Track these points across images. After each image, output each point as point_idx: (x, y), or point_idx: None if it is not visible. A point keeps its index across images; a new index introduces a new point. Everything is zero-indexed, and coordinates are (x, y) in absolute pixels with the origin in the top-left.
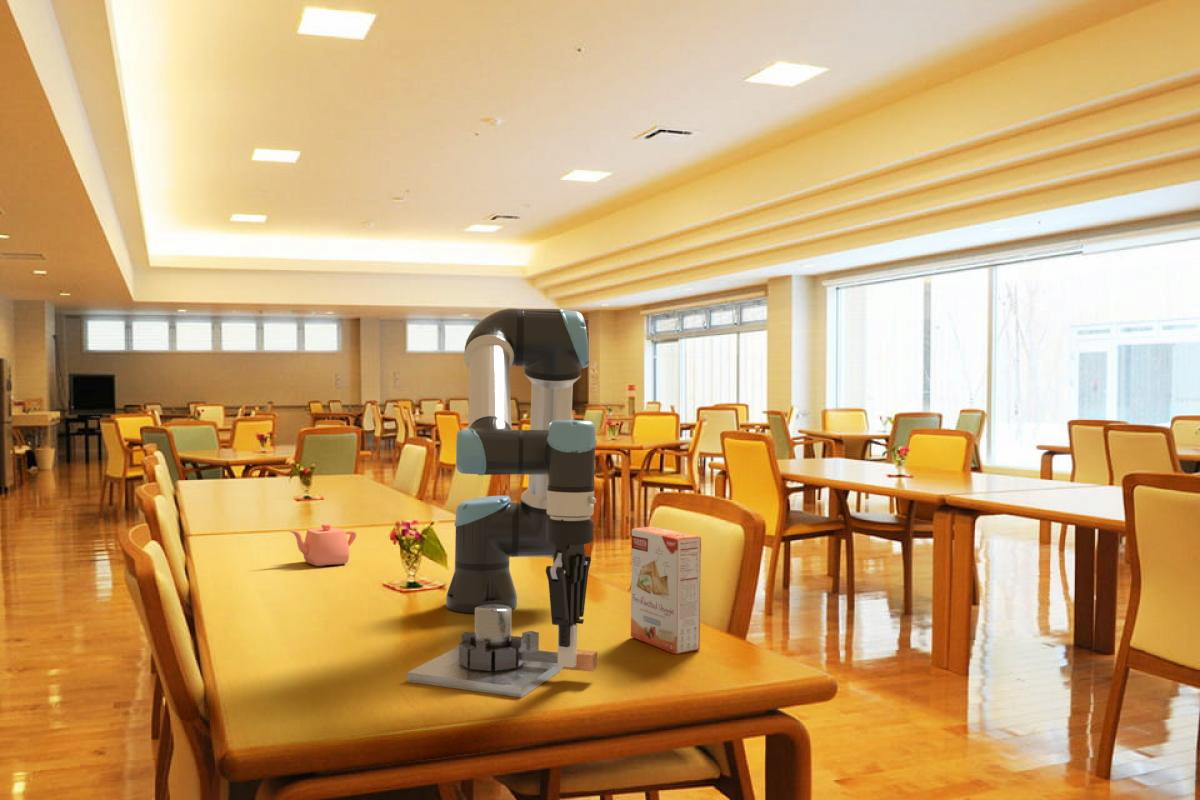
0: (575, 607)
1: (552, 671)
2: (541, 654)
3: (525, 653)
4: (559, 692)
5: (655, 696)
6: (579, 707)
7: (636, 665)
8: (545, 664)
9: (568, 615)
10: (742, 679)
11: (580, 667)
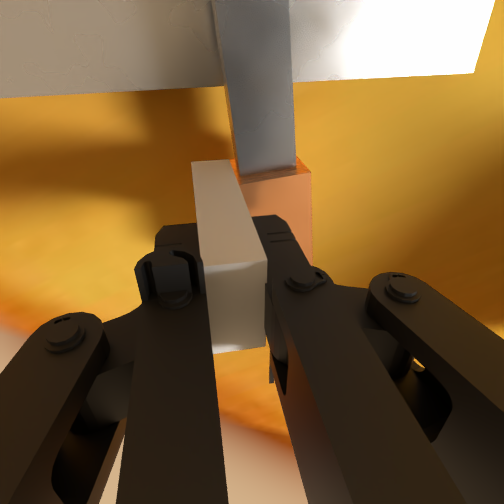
0: (293, 446)
1: None
2: (224, 53)
3: None
4: (107, 192)
5: (220, 377)
6: (29, 299)
7: (444, 259)
8: (296, 29)
9: (111, 456)
10: None
11: None
